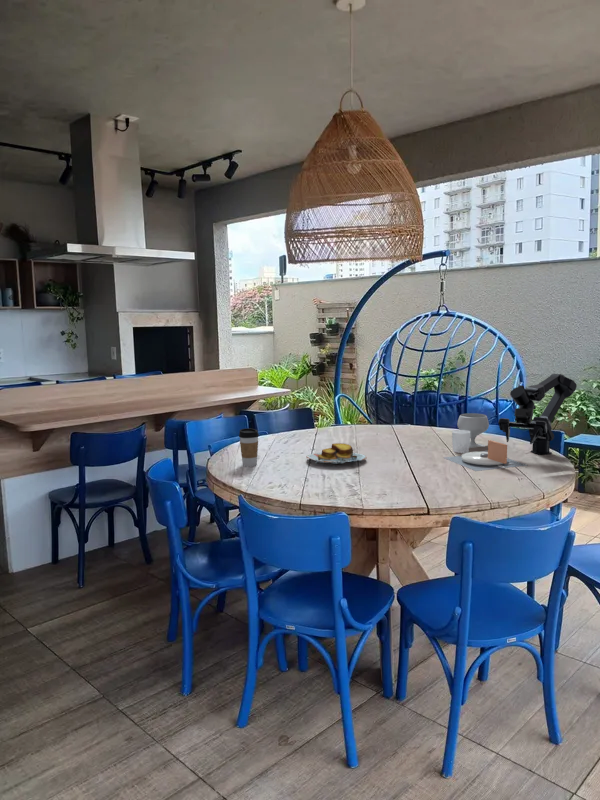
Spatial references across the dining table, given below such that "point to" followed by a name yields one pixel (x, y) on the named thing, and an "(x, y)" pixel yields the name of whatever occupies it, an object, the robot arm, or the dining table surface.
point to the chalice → (473, 426)
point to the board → (484, 467)
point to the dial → (488, 455)
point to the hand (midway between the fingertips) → (518, 442)
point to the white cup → (461, 441)
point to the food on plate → (337, 454)
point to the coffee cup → (249, 446)
